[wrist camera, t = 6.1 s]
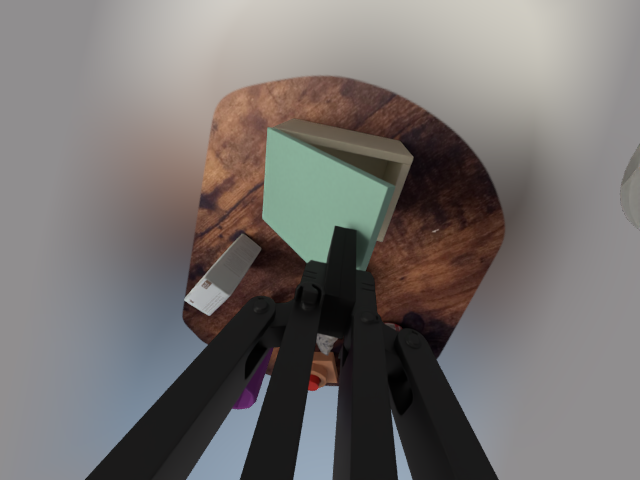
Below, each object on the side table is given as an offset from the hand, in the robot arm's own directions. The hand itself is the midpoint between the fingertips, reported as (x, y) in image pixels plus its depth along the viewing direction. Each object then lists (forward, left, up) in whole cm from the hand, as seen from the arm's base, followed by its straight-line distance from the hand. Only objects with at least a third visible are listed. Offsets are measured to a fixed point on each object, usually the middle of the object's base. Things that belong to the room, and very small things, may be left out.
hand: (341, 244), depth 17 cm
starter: (-2, +44, -19) cm, 48 cm away
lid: (+3, 0, -5) cm, 6 cm away
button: (-2, +44, -15) cm, 47 cm away
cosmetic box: (+15, +17, -19) cm, 29 cm away
